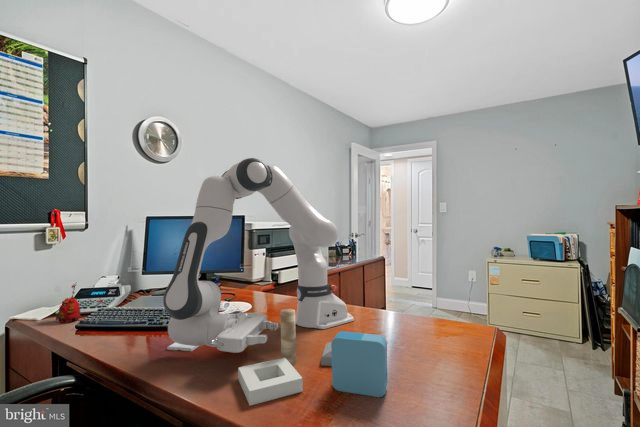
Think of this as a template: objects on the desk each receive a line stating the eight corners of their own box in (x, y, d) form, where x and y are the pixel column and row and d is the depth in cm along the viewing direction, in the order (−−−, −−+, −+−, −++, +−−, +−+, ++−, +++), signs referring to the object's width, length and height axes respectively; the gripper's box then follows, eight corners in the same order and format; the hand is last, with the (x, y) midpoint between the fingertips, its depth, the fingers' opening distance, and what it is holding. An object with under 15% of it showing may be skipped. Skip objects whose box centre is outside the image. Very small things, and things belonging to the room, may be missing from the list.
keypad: (326, 339, 94) (377, 341, 91) (326, 351, 93) (377, 354, 91) (321, 352, 84) (378, 355, 82) (321, 366, 84) (378, 370, 82)
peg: (292, 358, 88) (292, 308, 89) (298, 364, 85) (297, 311, 85) (279, 361, 87) (278, 310, 87) (283, 367, 83) (283, 313, 83)
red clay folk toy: (53, 322, 124) (53, 284, 124) (73, 317, 130) (73, 281, 131) (65, 325, 121) (65, 285, 121) (85, 319, 127) (85, 282, 128)
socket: (285, 369, 82) (285, 357, 82) (302, 391, 71) (302, 378, 71) (238, 379, 77) (238, 367, 77) (249, 405, 66) (249, 391, 66)
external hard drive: (213, 338, 107) (191, 353, 94) (191, 336, 108) (167, 351, 96) (213, 333, 107) (191, 347, 94) (191, 331, 108) (167, 346, 96)
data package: (387, 388, 72) (386, 335, 72) (385, 398, 68) (384, 342, 68) (337, 380, 76) (336, 330, 76) (331, 390, 72) (330, 337, 72)
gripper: (205, 332, 79) (258, 334, 77) (239, 308, 99) (282, 310, 97) (205, 357, 79) (258, 361, 76) (240, 329, 99) (282, 331, 97)
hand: (272, 332), depth 87 cm, fingers open, 8 cm apart
